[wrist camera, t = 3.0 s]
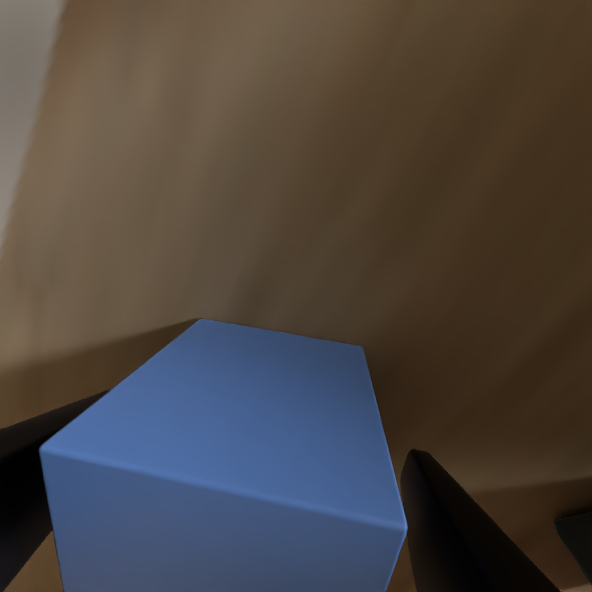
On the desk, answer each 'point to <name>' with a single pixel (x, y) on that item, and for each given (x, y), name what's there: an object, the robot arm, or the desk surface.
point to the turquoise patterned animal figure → (578, 540)
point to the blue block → (228, 472)
